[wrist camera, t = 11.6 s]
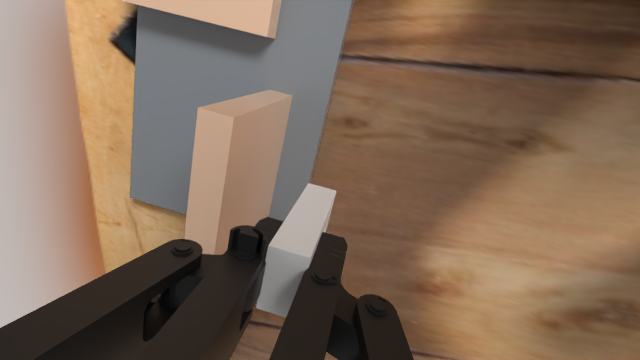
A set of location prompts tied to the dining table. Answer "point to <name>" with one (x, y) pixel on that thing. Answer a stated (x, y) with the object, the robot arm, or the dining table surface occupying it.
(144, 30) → the slate board
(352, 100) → the dining table surface
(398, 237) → the dining table surface
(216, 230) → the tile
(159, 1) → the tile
